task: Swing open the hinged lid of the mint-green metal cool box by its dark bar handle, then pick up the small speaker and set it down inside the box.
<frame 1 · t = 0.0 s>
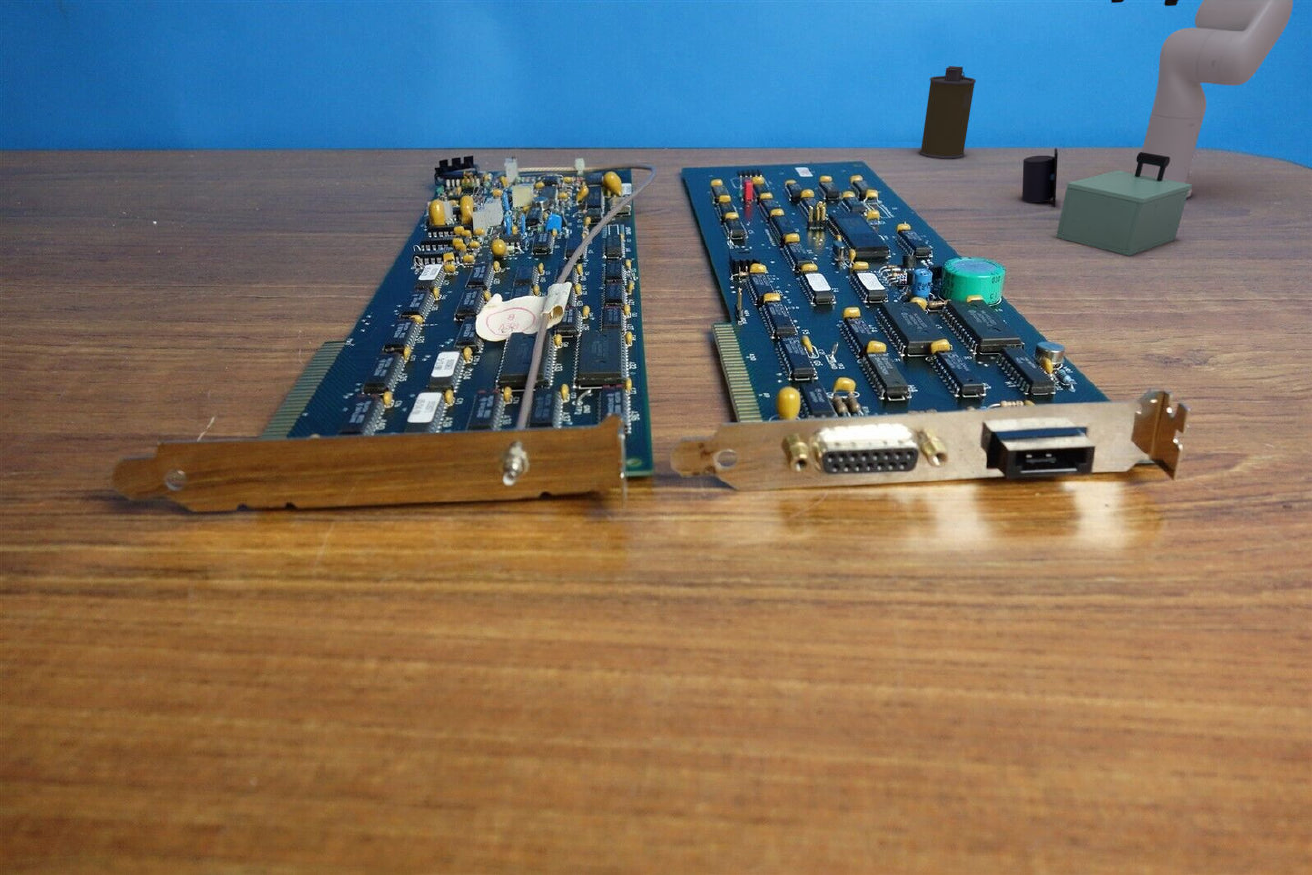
hand: (1143, 4, 165), 37 cm above the table, tool pointing down, fingers open, 9 cm apart
speaker: (1036, 202, 189), on the table
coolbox: (1115, 238, 166), on the table
canister: (941, 155, 228), on the table
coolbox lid: (1132, 173, 161), point 11 cm above the table, hinge at 0.0°
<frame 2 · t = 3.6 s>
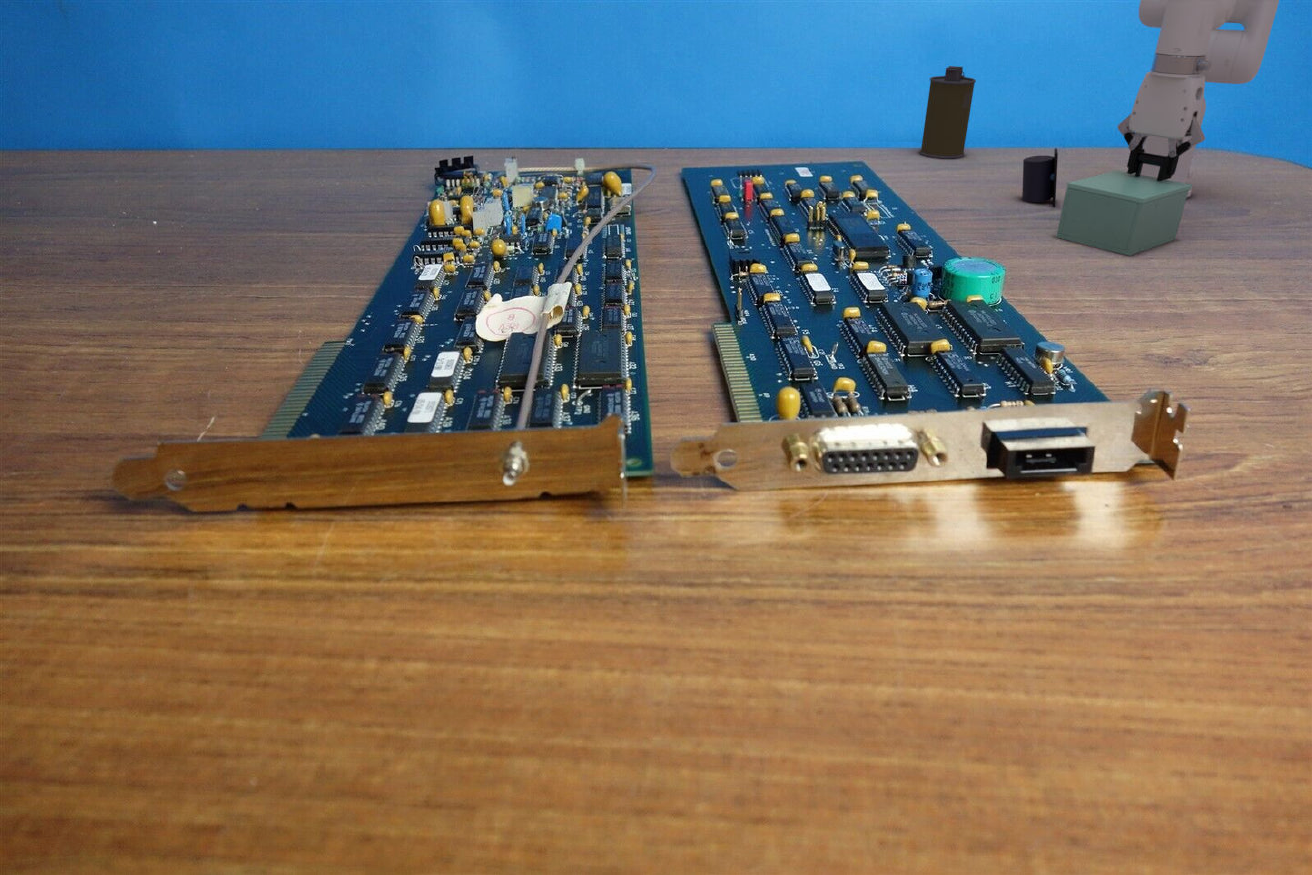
hand: (1149, 174, 164), 10 cm above the table, tool pointing down, fingers closed on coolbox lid, 5 cm apart
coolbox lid: (1132, 173, 161), point 11 cm above the table, hinge at 0.0°, touching gripper
everything else where it was.
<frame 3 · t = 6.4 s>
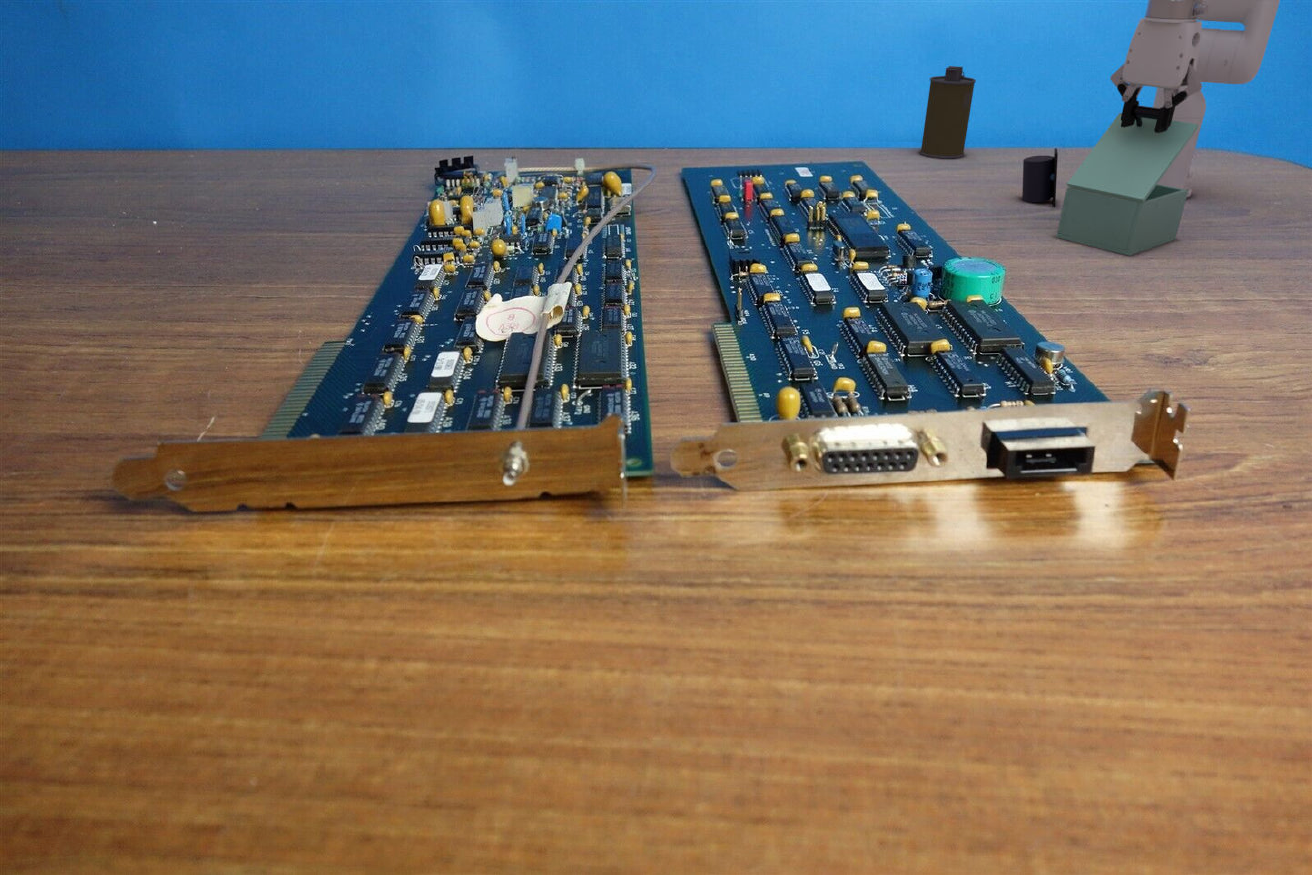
hand: (1143, 127, 157), 19 cm above the table, tool pointing down, fingers closed on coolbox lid, 5 cm apart
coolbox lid: (1129, 147, 157), point 16 cm above the table, hinge at 40.2°, touching gripper
everything else where it was.
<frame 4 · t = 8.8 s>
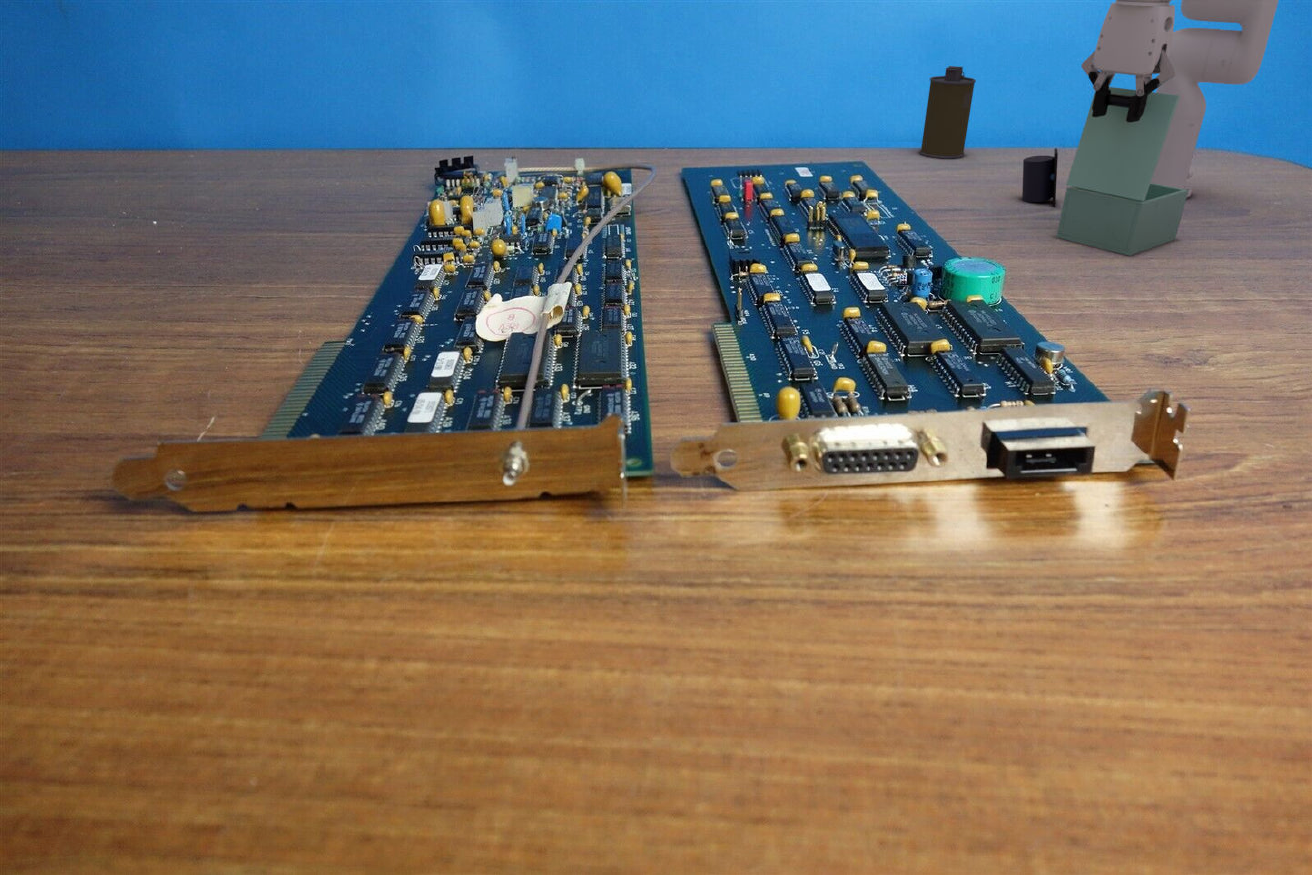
hand: (1115, 117, 150), 22 cm above the table, tool pointing down, fingers closed on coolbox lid, 5 cm apart
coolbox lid: (1114, 141, 153), point 18 cm above the table, hinge at 79.4°, touching gripper
everything else where it was.
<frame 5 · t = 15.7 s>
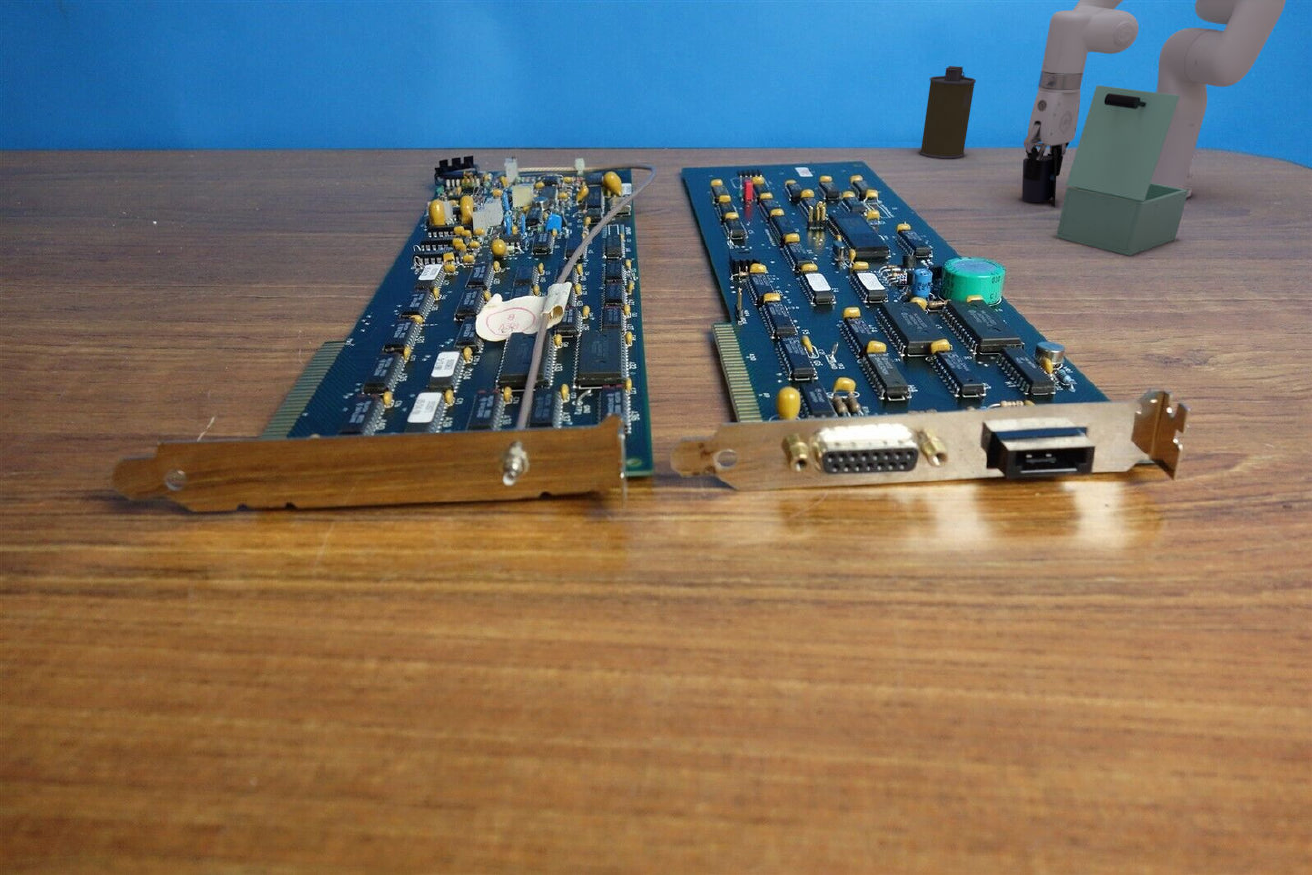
hand: (1041, 176, 186), 5 cm above the table, tool pointing down, fingers closed on speaker, 6 cm apart
speaker: (1035, 202, 189), on the table, touching gripper
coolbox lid: (1114, 141, 153), point 18 cm above the table, hinge at 79.7°
everything else where it was.
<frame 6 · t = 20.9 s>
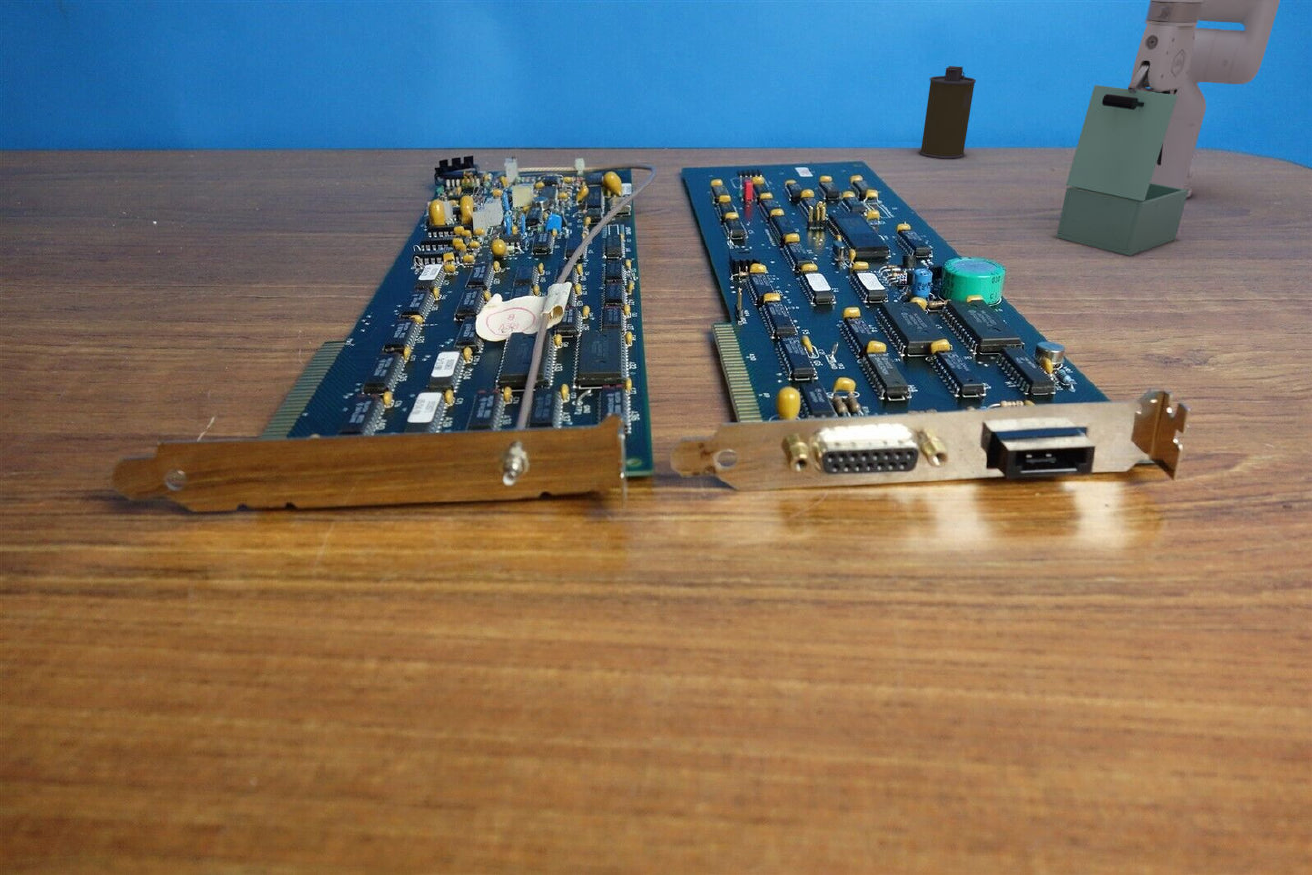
hand: (1144, 130, 158), 19 cm above the table, tool pointing down, fingers closed on speaker, 6 cm apart
speaker: (1135, 161, 160), point 13 cm above the table, touching gripper
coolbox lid: (1113, 142, 153), point 18 cm above the table, hinge at 82.1°
everything else where it was.
when the fingers open (6 cm above the table, at t = 24.4 s): speaker stays where it is, resting on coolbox.
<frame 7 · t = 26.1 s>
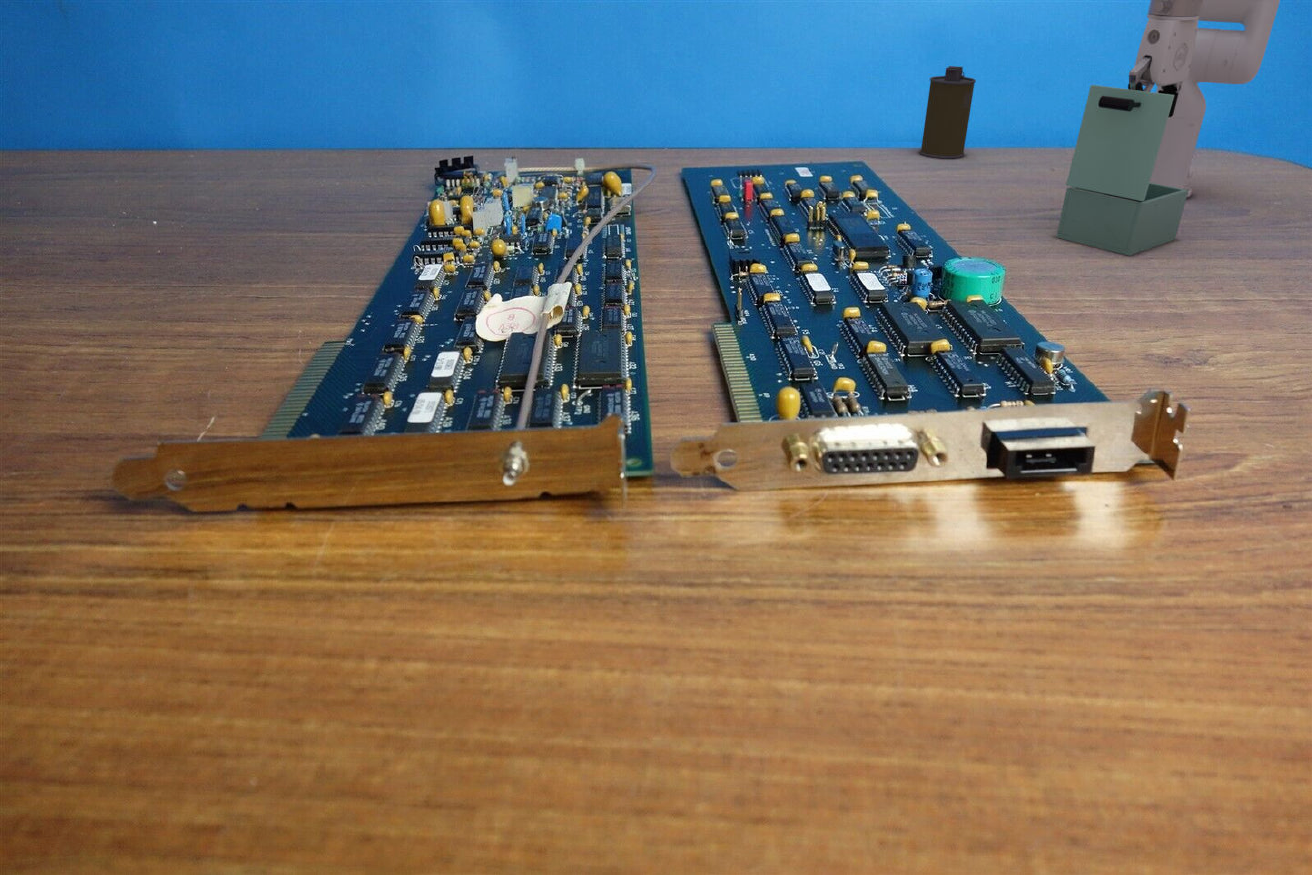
hand: (1147, 119, 157), 20 cm above the table, tool pointing down, fingers open, 9 cm apart
speaker: (1118, 234, 166), point 1 cm above the table, touching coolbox
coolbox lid: (1110, 143, 152), point 18 cm above the table, hinge at 86.3°
everything else where it was.
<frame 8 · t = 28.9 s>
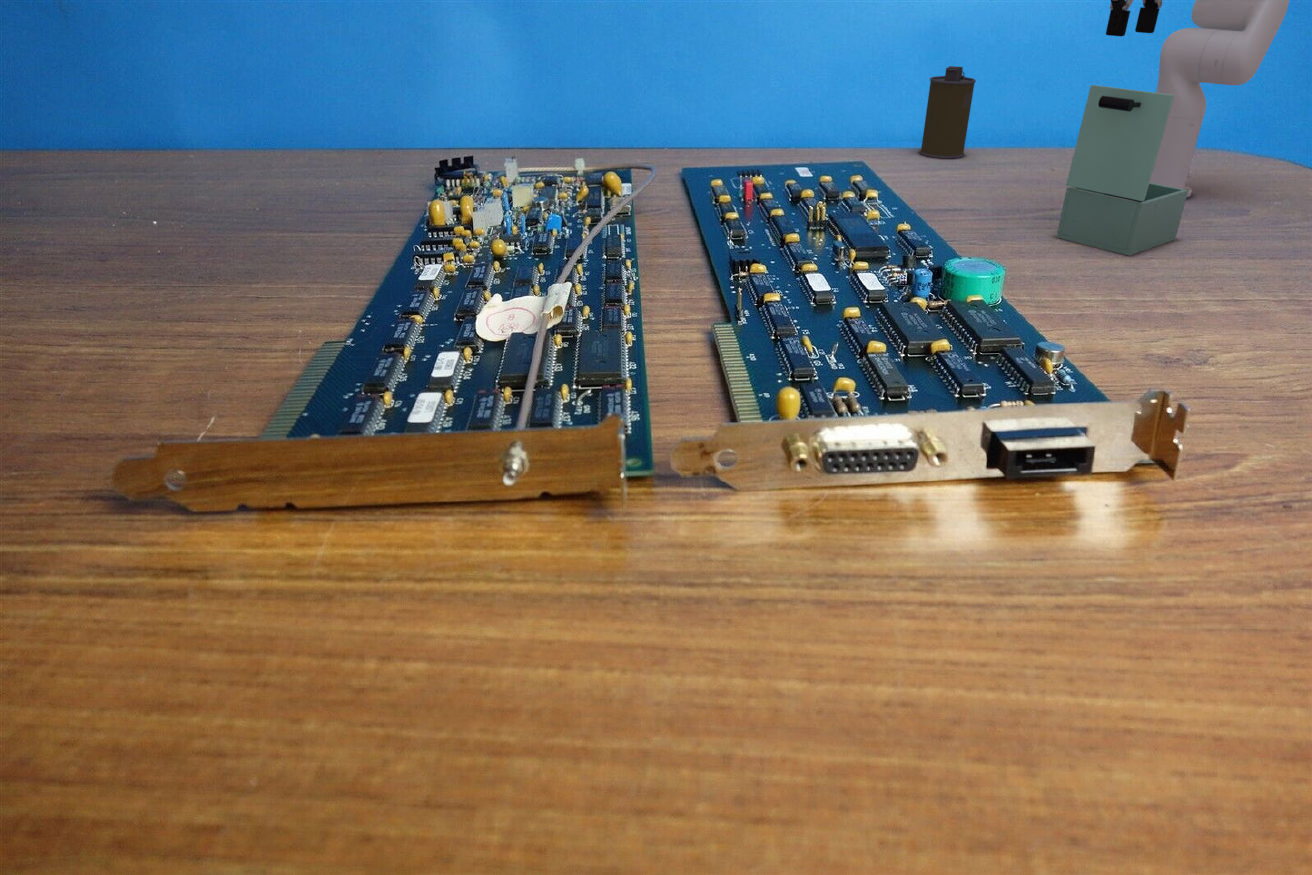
hand: (1129, 34, 162), 32 cm above the table, tool pointing down, fingers open, 9 cm apart
nothing on the table moved.
at the end: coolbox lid at +86° (first picture: +0°); speaker inside the target area in the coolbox (0.8 cm from its centre), point 0.6 cm above the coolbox's base; speaker tilted 0° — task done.
